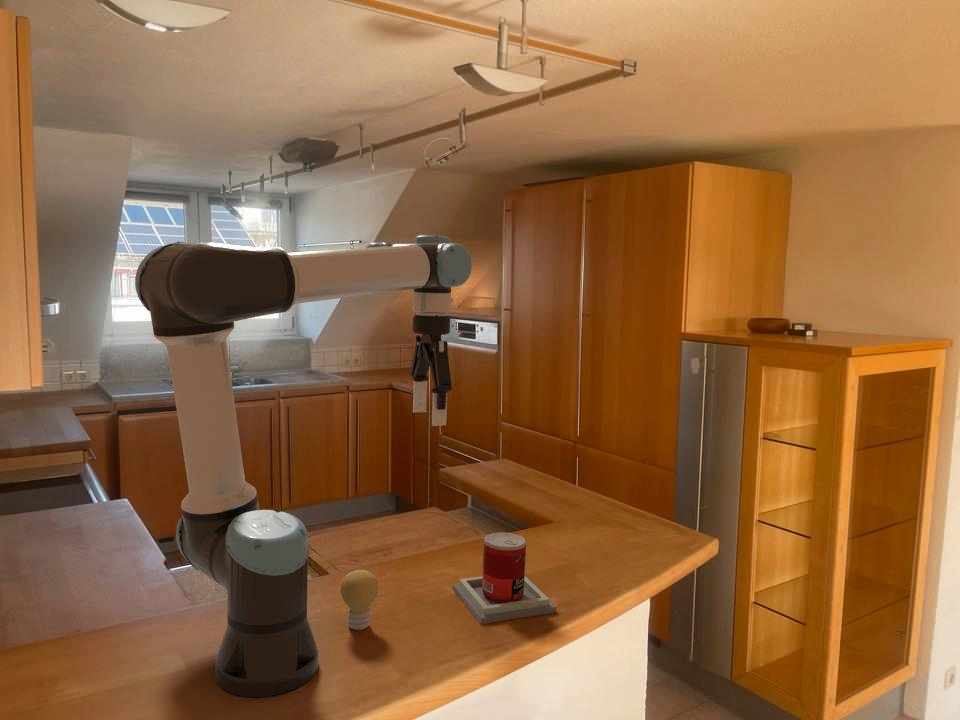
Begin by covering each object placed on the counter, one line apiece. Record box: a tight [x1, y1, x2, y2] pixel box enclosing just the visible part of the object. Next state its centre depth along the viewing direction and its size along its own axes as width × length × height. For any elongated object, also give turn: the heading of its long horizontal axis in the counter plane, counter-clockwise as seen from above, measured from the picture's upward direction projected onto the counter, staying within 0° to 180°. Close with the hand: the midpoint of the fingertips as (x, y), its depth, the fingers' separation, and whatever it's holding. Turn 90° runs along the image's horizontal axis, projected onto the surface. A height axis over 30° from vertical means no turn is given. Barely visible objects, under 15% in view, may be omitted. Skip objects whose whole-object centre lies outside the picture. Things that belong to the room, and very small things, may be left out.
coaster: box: [452, 575, 557, 625], centre depth 136 cm, size 15×15×2 cm
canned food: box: [482, 531, 527, 603], centre depth 135 cm, size 8×8×11 cm
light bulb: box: [340, 569, 379, 631], centre depth 123 cm, size 6×6×10 cm
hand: (428, 418), depth 146 cm, fingers open, 13 cm apart
